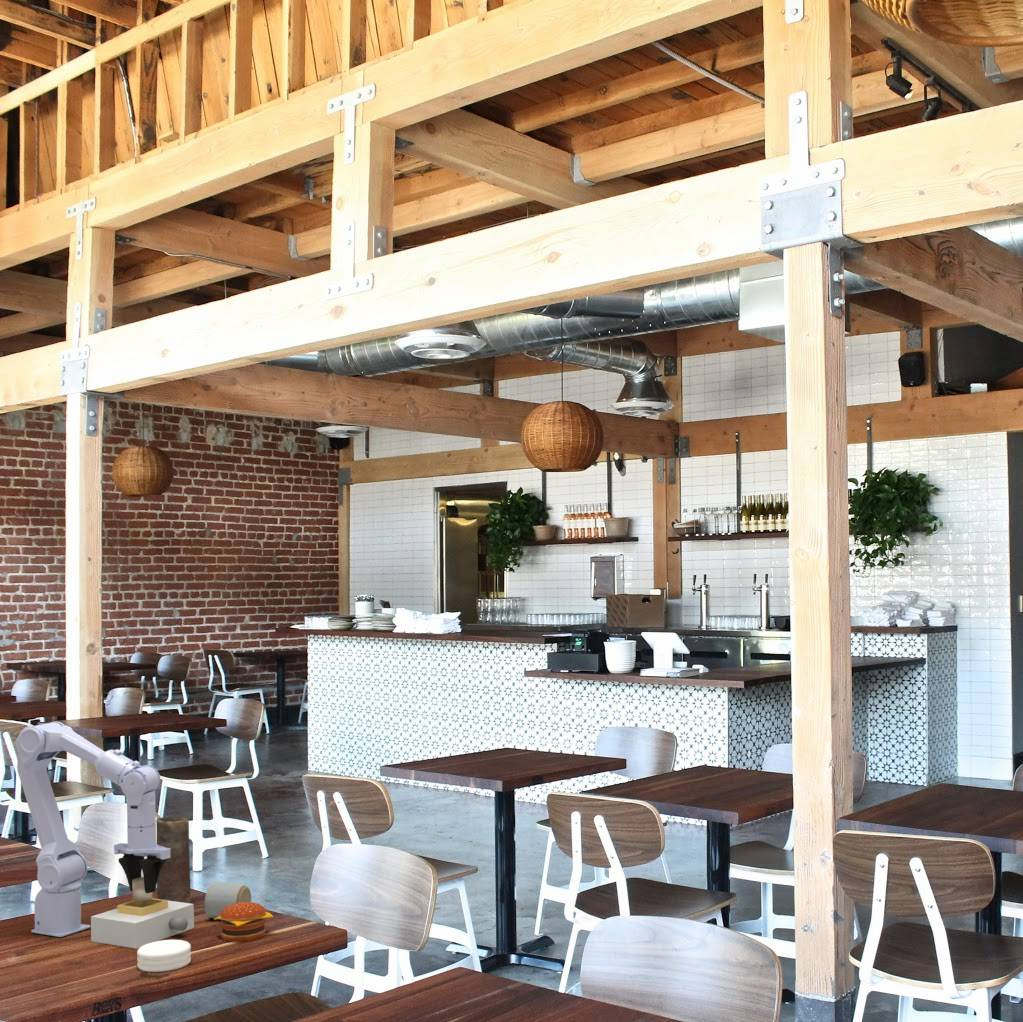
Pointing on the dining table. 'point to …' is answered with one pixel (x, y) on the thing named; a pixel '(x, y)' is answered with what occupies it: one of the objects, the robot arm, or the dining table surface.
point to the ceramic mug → (224, 897)
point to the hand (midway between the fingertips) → (142, 891)
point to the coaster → (164, 955)
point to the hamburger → (243, 922)
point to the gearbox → (142, 922)
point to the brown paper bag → (174, 860)
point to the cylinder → (140, 890)
